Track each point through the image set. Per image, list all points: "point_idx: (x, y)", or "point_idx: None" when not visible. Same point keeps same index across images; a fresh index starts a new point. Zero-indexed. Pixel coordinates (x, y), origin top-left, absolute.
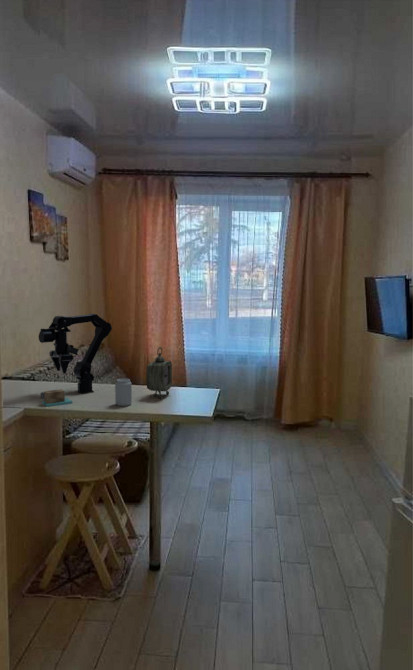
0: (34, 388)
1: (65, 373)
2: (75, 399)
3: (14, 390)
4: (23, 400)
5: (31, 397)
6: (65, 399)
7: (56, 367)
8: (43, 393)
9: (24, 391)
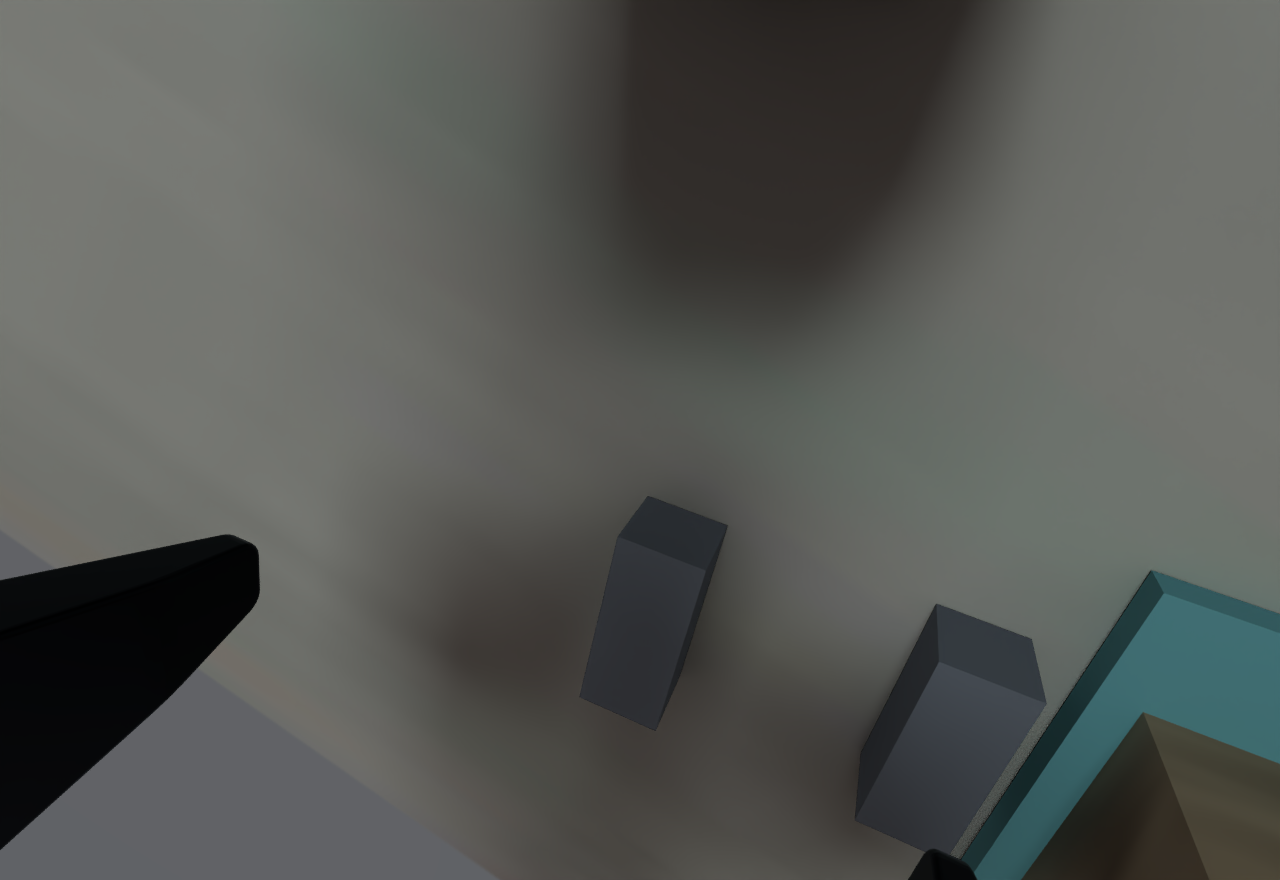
0: (88, 352)
1: (960, 869)
2: (1270, 438)
3: (104, 556)
4: (600, 827)
5: (523, 693)
6: (1222, 679)
7: (138, 717)
8: (661, 714)
9: (191, 529)
